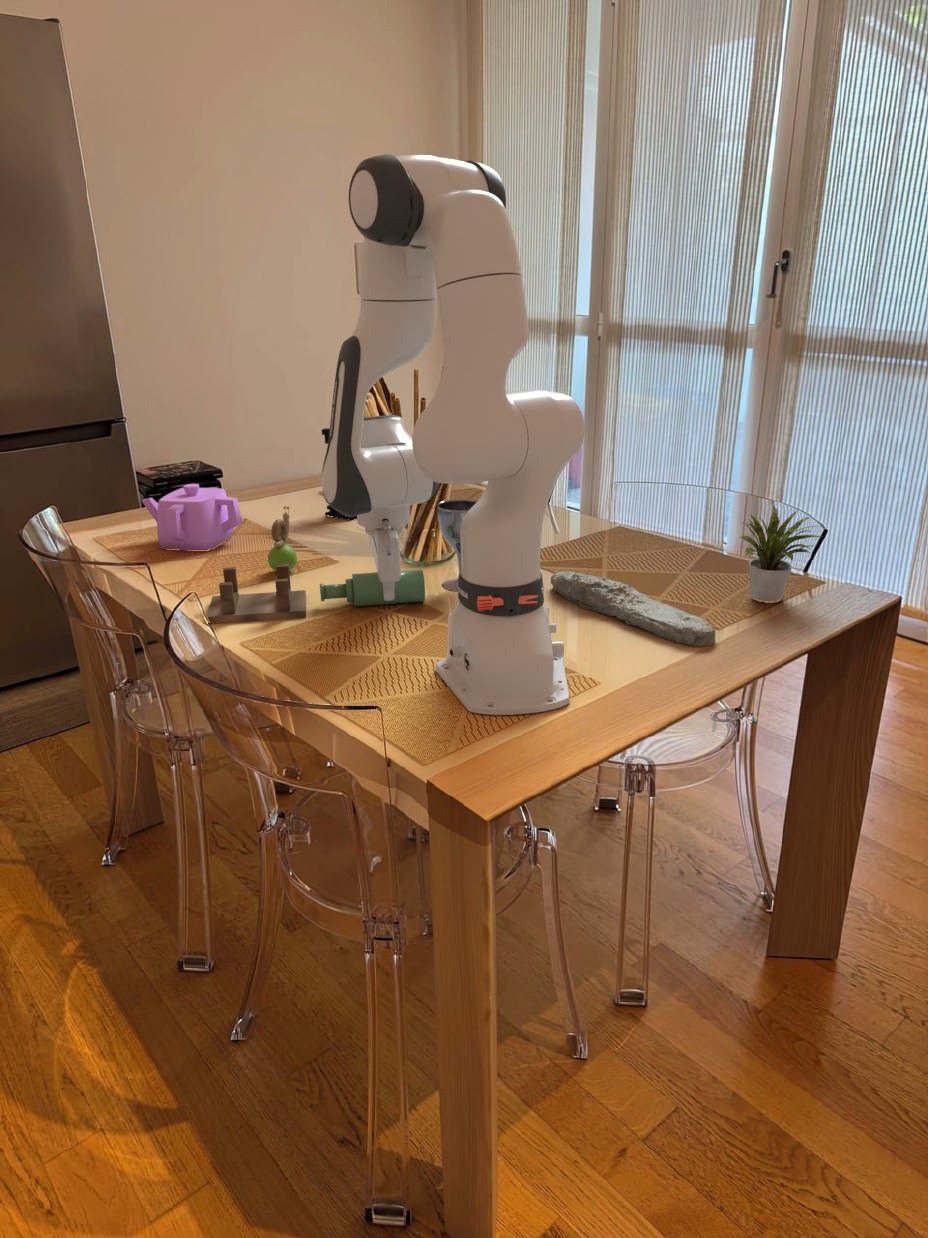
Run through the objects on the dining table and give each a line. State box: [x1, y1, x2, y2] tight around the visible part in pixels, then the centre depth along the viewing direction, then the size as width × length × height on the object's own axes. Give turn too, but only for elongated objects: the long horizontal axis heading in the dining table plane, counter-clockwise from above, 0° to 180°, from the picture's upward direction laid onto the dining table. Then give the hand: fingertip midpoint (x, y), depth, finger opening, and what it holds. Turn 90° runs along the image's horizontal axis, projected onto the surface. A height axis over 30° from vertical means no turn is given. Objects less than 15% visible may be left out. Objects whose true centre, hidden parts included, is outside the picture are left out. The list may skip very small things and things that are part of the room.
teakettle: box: [141, 483, 243, 550], centre depth 190 cm, size 17×17×12 cm
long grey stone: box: [550, 570, 717, 648], centre depth 150 cm, size 35×5×10 cm
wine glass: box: [437, 498, 478, 592], centre depth 162 cm, size 8×8×15 cm
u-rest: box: [206, 564, 307, 625], centre depth 153 cm, size 16×10×6 cm, turn 99°
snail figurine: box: [267, 505, 298, 572], centre depth 171 cm, size 5×6×12 cm
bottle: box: [319, 568, 426, 607], centre depth 156 cm, size 18×6×6 cm, turn 100°
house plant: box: [739, 505, 823, 601], centre depth 153 cm, size 14×14×16 cm
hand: (386, 589), depth 157 cm, fingers open, 8 cm apart
